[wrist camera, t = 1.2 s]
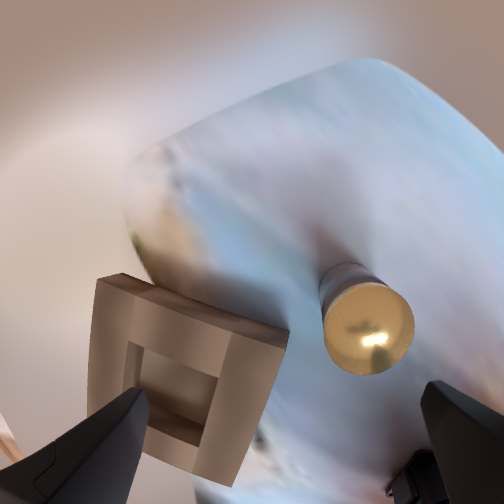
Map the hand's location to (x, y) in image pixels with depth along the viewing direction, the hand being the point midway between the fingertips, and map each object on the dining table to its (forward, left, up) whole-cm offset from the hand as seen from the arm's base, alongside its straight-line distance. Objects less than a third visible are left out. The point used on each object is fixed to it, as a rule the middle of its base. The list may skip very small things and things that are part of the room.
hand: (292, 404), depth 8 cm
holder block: (+7, +9, -13) cm, 18 cm away
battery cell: (-3, -2, -13) cm, 14 cm away
